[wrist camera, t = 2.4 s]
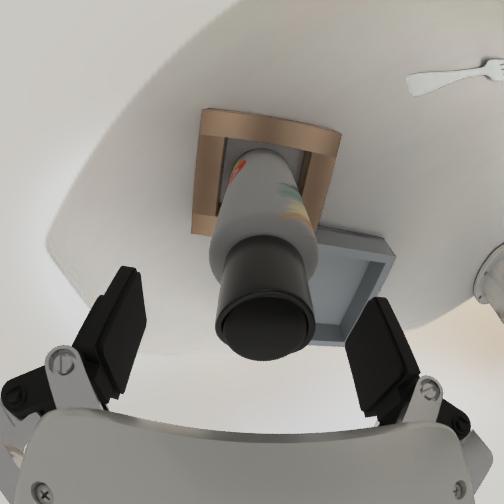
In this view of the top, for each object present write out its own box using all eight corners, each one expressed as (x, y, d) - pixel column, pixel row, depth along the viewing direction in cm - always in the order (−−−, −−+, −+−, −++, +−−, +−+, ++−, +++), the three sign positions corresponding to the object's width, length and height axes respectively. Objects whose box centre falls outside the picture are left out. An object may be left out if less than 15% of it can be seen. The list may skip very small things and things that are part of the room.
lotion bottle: (225, 191, 28) (178, 361, 11) (243, 139, 25) (207, 255, 8) (277, 208, 29) (300, 385, 12) (298, 158, 26) (372, 301, 9)
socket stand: (333, 129, 24) (341, 134, 21) (305, 236, 30) (309, 250, 28) (208, 108, 23) (202, 109, 20) (197, 220, 29) (191, 233, 27)
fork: (391, 75, 22) (400, 75, 20) (507, 56, 15) (519, 58, 13) (399, 98, 23) (409, 100, 21) (512, 75, 16) (525, 78, 14)
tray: (383, 238, 30) (396, 256, 27) (342, 325, 38) (347, 346, 35) (258, 216, 29) (258, 234, 26) (240, 316, 37) (238, 338, 34)
